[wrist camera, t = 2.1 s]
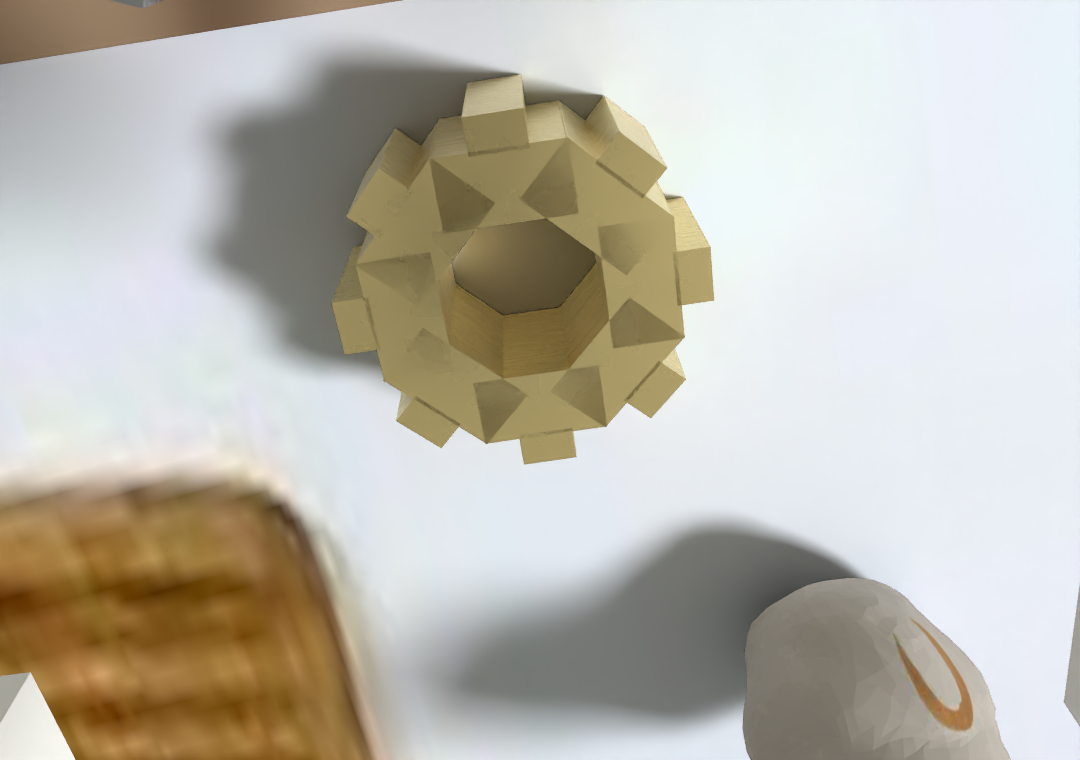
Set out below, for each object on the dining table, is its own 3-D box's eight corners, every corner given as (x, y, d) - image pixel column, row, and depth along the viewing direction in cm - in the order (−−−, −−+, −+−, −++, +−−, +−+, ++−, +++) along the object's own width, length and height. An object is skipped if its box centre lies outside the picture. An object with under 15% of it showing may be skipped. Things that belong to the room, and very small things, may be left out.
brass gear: (393, 411, 30) (379, 485, 27) (318, 105, 26) (289, 144, 22) (697, 368, 30) (723, 436, 26) (671, 50, 26) (698, 80, 22)
